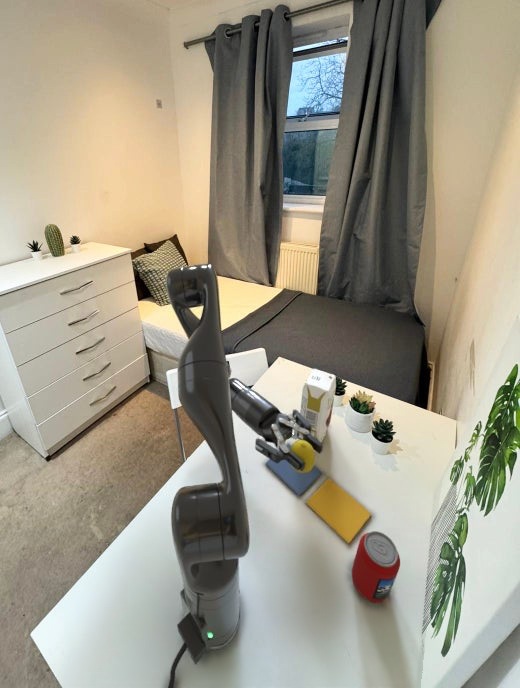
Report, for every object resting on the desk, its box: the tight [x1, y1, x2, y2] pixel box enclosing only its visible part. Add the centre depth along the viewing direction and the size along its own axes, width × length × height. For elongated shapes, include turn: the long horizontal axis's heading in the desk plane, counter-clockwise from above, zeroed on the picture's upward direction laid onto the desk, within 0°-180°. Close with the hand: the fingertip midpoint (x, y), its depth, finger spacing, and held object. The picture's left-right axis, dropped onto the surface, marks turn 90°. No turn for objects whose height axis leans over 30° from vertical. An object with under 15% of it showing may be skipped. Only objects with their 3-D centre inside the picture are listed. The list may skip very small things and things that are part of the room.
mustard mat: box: [305, 477, 372, 545], centre depth 75 cm, size 9×11×1 cm
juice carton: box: [299, 368, 337, 443], centre depth 91 cm, size 8×9×19 cm
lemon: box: [289, 439, 316, 473], centre depth 70 cm, size 6×6×8 cm
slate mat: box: [265, 443, 323, 497], centre depth 84 cm, size 9×11×1 cm
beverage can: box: [351, 530, 401, 604], centre depth 60 cm, size 7×7×12 cm
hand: (312, 458), depth 67 cm, fingers closed on lemon, 5 cm apart
